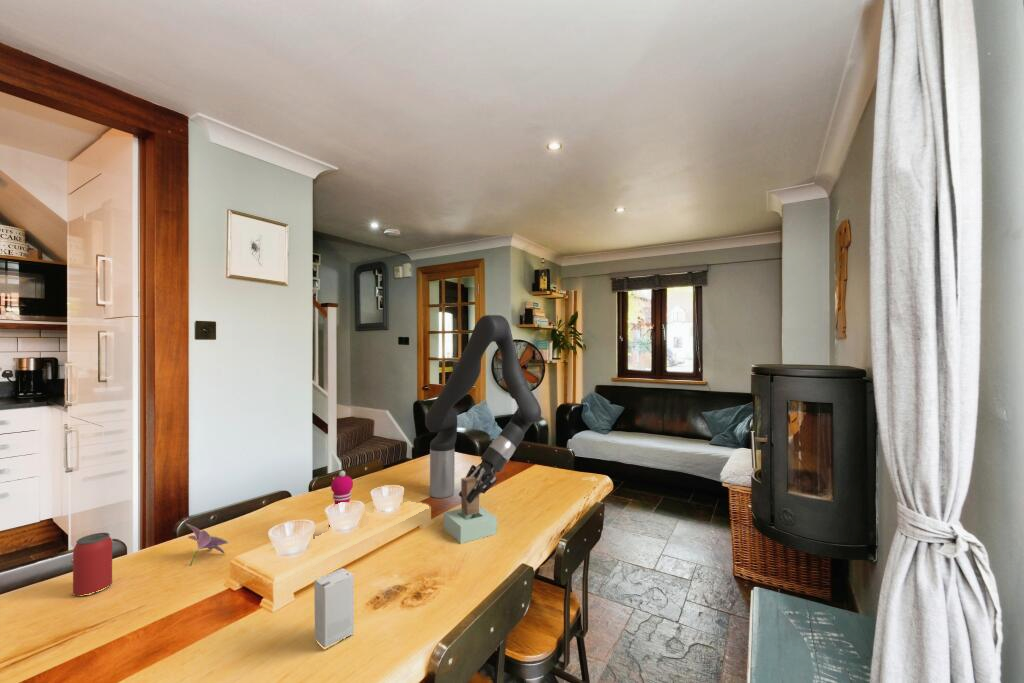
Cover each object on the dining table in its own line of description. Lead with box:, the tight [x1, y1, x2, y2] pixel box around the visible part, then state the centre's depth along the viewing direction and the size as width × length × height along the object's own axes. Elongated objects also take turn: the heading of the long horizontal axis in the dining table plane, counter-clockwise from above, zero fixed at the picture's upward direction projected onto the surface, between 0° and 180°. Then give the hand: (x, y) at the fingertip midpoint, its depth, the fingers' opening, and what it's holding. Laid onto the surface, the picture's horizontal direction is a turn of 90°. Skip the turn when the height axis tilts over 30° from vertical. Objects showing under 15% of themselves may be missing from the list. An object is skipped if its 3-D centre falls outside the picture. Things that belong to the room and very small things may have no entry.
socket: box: [443, 505, 498, 544], centre depth 131 cm, size 12×12×5 cm
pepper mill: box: [328, 470, 354, 528], centre depth 126 cm, size 7×7×20 cm
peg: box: [460, 476, 480, 515], centre depth 131 cm, size 4×4×10 cm
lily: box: [185, 523, 229, 566], centre depth 114 cm, size 12×12×10 cm
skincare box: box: [313, 568, 355, 647], centre depth 83 cm, size 6×4×12 cm
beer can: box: [72, 532, 113, 596], centre depth 100 cm, size 7×7×12 cm
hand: (464, 499), depth 130 cm, fingers closed on peg, 4 cm apart
